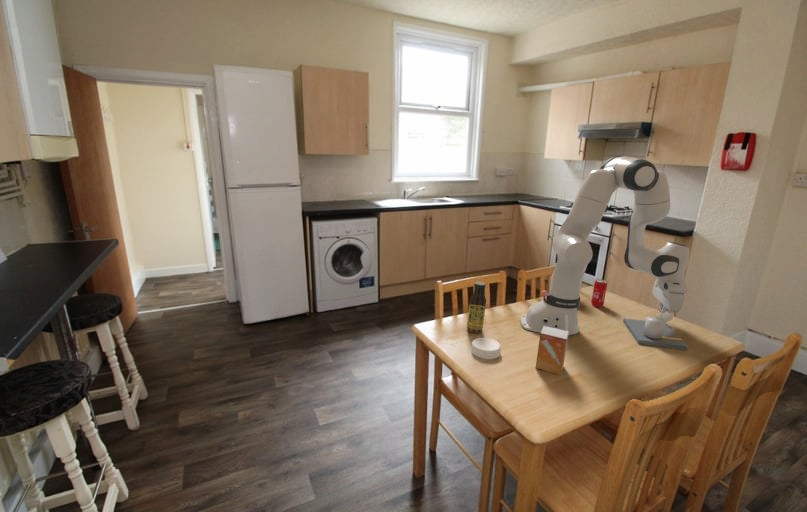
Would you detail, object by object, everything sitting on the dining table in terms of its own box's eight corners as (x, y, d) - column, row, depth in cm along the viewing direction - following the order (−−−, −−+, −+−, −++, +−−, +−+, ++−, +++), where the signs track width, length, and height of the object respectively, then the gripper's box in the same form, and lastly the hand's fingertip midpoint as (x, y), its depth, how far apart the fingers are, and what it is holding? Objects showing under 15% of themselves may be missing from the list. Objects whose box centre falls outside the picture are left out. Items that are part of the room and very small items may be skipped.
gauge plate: (637, 343, 144) (638, 339, 144) (623, 321, 163) (623, 317, 162) (686, 350, 140) (687, 345, 140) (665, 326, 159) (666, 322, 159)
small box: (535, 368, 126) (539, 332, 123) (538, 359, 132) (543, 325, 128) (561, 375, 123) (566, 338, 119) (563, 366, 128) (569, 330, 124)
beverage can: (604, 308, 176) (608, 283, 173) (592, 306, 177) (596, 282, 174) (601, 303, 181) (605, 279, 178) (589, 302, 182) (593, 278, 179)
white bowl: (504, 350, 137) (505, 342, 136) (494, 363, 129) (495, 354, 128) (477, 343, 143) (478, 334, 142) (466, 354, 135) (467, 345, 134)
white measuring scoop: (657, 340, 143) (660, 324, 141) (640, 334, 148) (643, 318, 146) (676, 329, 152) (679, 314, 151) (659, 323, 157) (663, 308, 155)
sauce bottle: (466, 332, 150) (469, 284, 144) (467, 325, 156) (470, 279, 150) (483, 334, 148) (487, 286, 143) (483, 327, 154) (487, 281, 149)
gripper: (651, 273, 165) (645, 302, 169) (670, 289, 146) (663, 322, 150) (668, 274, 163) (661, 304, 167) (689, 291, 144) (681, 324, 148)
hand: (662, 313), depth 158 cm, fingers closed
